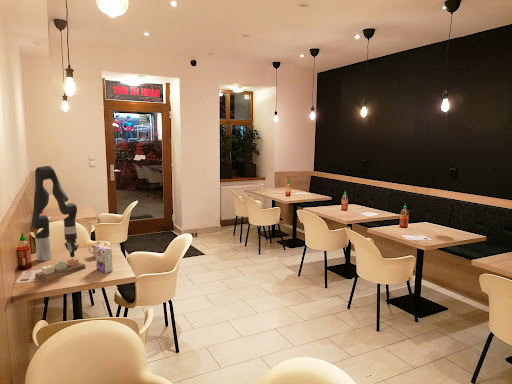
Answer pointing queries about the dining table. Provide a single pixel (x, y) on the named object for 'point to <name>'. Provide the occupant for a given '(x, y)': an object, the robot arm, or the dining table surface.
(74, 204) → the robot arm
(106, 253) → the candy box
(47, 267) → the key one
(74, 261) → the key three
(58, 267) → the key two
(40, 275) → the key block
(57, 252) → the dining table surface
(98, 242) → the teacup with lid
